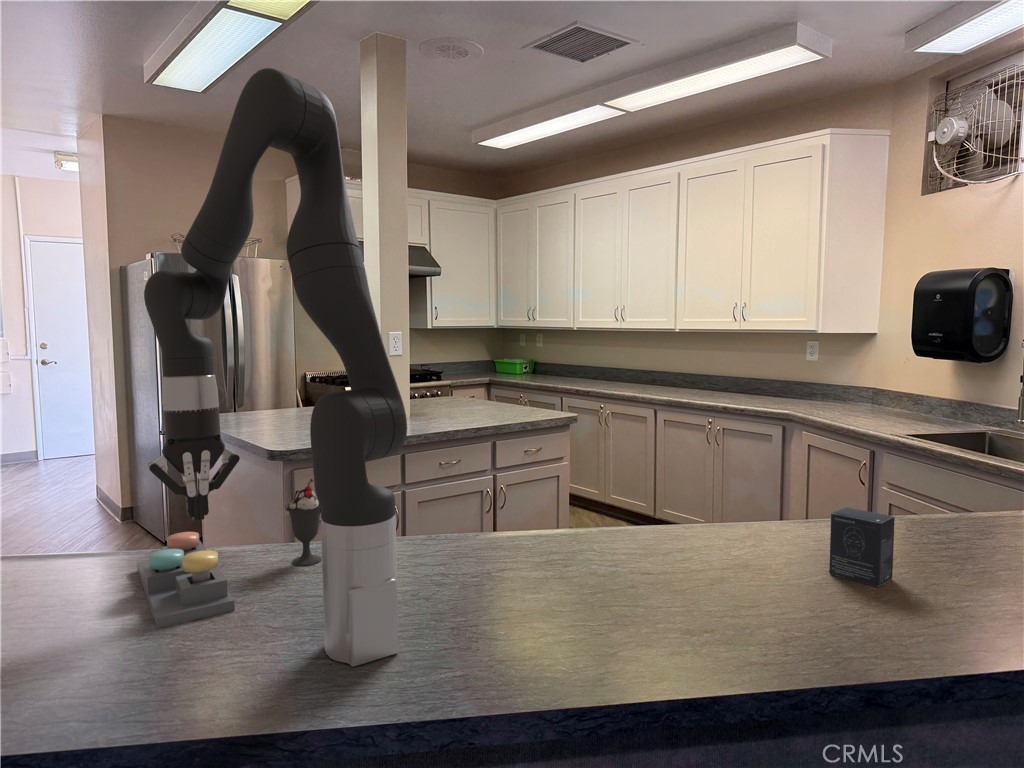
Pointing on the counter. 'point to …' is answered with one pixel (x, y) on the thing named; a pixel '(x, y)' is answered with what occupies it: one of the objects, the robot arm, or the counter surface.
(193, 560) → the button ochre
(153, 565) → the button teal
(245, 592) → the counter surface
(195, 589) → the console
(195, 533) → the salmon orange dome button
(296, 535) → the sundae
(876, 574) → the box
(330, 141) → the robot arm
